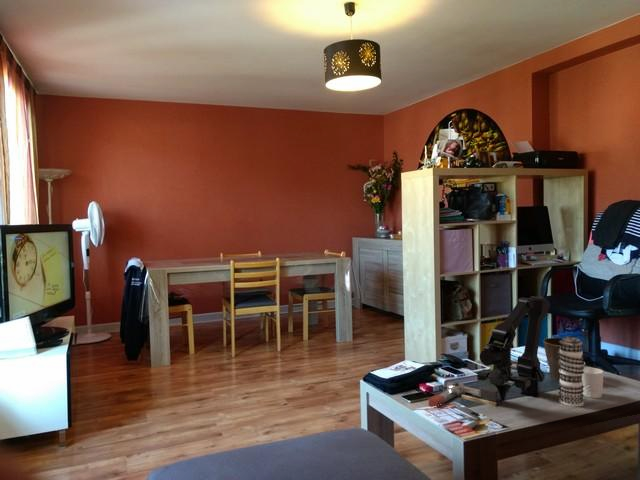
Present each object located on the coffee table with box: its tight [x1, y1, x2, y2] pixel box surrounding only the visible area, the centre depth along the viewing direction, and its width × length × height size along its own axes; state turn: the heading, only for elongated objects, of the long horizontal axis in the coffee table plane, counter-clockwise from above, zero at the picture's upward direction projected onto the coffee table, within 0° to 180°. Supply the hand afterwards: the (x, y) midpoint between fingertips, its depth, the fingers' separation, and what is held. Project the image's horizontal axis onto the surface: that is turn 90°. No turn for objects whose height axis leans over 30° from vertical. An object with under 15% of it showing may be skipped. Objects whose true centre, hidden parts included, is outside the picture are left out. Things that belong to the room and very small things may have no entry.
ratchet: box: [428, 381, 481, 407], centre depth 200 cm, size 14×22×4 cm, turn 137°
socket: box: [480, 385, 502, 406], centre depth 197 cm, size 6×5×5 cm
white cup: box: [582, 367, 604, 399], centre depth 201 cm, size 8×8×10 cm
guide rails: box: [460, 393, 503, 407], centre depth 200 cm, size 14×8×1 cm, turn 47°
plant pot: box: [543, 337, 564, 380], centre depth 222 cm, size 15×15×16 cm
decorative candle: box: [558, 336, 585, 408], centre depth 193 cm, size 9×9×25 cm
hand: (503, 400), depth 194 cm, fingers closed
